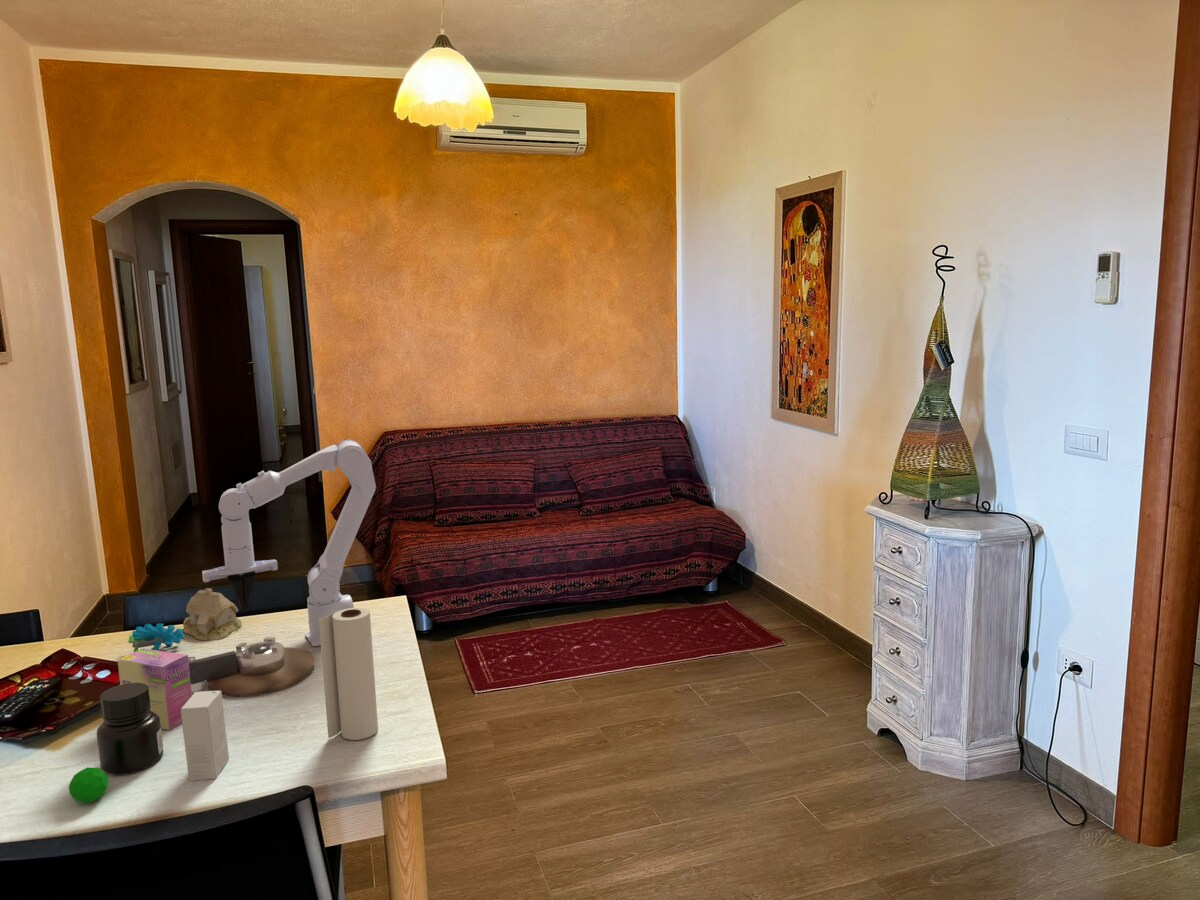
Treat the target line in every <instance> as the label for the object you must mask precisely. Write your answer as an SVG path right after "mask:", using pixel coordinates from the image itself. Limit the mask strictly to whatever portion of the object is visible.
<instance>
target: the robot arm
mask: <svg viewBox="0 0 1200 900" xmlns="http://www.w3.org/2000/svg"><path fill="white" fill-rule="evenodd" d="M372 465H373V464H372V460H371V459H370V458H369V456H368V454H367V452H366V451H365V450H364V449H363V447H362V445H361V444H360V443H359V442H357V441H355V440H353V439H346V440H341V441H340V442H338V444H337V445H336V444H332V445H329V446H327V447H325V448H323V449H321V450H318V451H316V452H314V453H313V454H311V455H310V456H308V457H307V456H306V458H304V459H302V460H300V461H298V462H297V463H295V464H293V465H291V466H289V467H287V468H285V469H283V470H281V471H279V472H276V471H273V470H267V472H265V471H264V470H262V471H261V470H260V472H258V473H257V476H256V477H254V478H252V479H250V480H248V481H246V482H244V483H242V482H239V483H237V484H236V485H235V487H236V488H235V487H233V488H229V489H226V491H223V493H222V494H221V495H220V499H219V501H218V511H219V513H220V514H221V518H220V522H221V527H220V528H221V537H222V546H223V557H224V565H223V566H219V567H214V568H212V569H211V568H210V569H207V570H206V569H205V570H202V571H201V572H202V573H201V575H202V581H203V583H209V582H210V581H214V580H220V579H227V580H228V582H229V584H230V585H231V587H232V590H233V591H234V593H235V595H236V598H237V601H238V604H239V605H238V606H239V608H240V610H241V611H243V610H248V609H249V603H250V597H251V593H252V590H253V587H254V585H255V583H256V580H257V575H256V574H257V573H262V572H267V571H277V570H279V568H278V561H277V560H276V559H268V560H267V559H266V560H265V559H264V560H255V553H254V544H253V543H254V542H253V532H252V530H253V529H252V523H251V522H250V515H249V511H250V510H251V509H256V508H258V507H261V506H264V505H265V504H266V503H267V504H268V503H269V502H270V501H273V500H275V499H277V498H279V497H281V496H283V495H284V493H285V491H286V490H285V489H286V488H287V487H288V486H290V485H292V484H293V483H296V482H299V481H301V480H302V479H305V478H307V477H310V476H312V475H313V474H316V473H318V472H320V471H326V472H327V471H328V472H337V469H336V467H338V469H339V470H340V471H341V472H342V473H343V474H344V475H345V476H346V477H347V479H348V481H349V484H350V486H351V489H350V491H349V493H348V496H347V498H346V501H345V503H344V505H343V508H342V510H341V512H340V514H339V516H338V518H337V521H336V524H335V526H334V529H333V531H332V533H331V535H330V538H329V540H328V542H327V544H326V547H325V549H324V552H323V553H322V554H321V555H320V557H319V559H318V561H317V563H316V564H315V565H314V566H313V567H312V568H311V569H310V570H309V571H308V574H307V576H306V581H307V585H308V594H309V596H308V597H307V598H306V600H307V601H306V602H307V603H306V604H307V613H308V614H307V615H308V628H309V632H306V633H305V635H304V636H305V637H307V638H308V639H307V638H306V639H307V640H308V641H309V643H310V642H311V643H310V644H311V645H312V647H319V646H321V640H320V628H319V619H321V618H324V617H326V616H328V615H330V614H332V613H334V612H337V611H340V610H344V609H349V608H355V607H354V603H353V602H354V601H353V599H352V596H351V595H350V594H342V593H341V592H340V589H341V588H340V580H341V577H342V575H343V571H344V565H345V563H346V562H345V561H346V560H347V557H348V555H349V552H350V550H351V548H352V545H353V543H354V542H355V541H354V540H355V539H356V536H357V533H358V532H359V529H360V527H361V524H362V522H363V520H364V518H365V516H366V513H367V511H368V508H369V506H370V504H371V502H372V499H373V496H374V494H375V492H376V488H377V484H376V481H375V480H376V479H375V475H374V471H373V466H372ZM318 645H319V646H318Z"/></svg>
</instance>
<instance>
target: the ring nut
mask: <svg viewBox="0 0 1200 900" xmlns="http://www.w3.org/2000/svg"><path fill="white" fill-rule="evenodd" d="M284 647H285V646H284V644H283V643H281V642H278V641H276V637H275V636H274V637H273V636H266V637H265V638H264V639H263V641H259V642H254V643H251V644H247V642H240V643H239V644H237V645H236V646H235V650H236V651H235V650H233V651H228V652H224V653H220V654H215V655H211V656H206V657H203V658H202V657H201V658H198V659H197V658H196V657H195V656H188V660H189V671H190V683H191V685H194V684H198V683H203V682H206V681H207V680H211V679H215V678H219V677H223V676H227V675H231V674H235V673H239V674H242V675H250V676H252V675H262V674H266V673H270V672H273V671H275V670H278V669H279V668H281V667H282V666H283V665H284V664H285V658H284Z"/></svg>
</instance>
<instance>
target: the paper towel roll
mask: <svg viewBox="0 0 1200 900" xmlns="http://www.w3.org/2000/svg"><path fill="white" fill-rule="evenodd" d="M371 624H372V621H371V612H370V610H369V609H367V608H364V607H354V608H349V609H344V610H340V611H337V612H334V613H332V614H330V615H328V616H326V617H324V618H321V619H319V628H320V640H321V645H320V649H321V650H320V651H321V664H322V676H323V687H324V699H325V700H324V701H325V702H324V703H325V711H326V712H325V713H326V725H327V735H328V736H327V737H328V739H330V738H334V737H335V736H336V735H338V734H339V733H341V736H342V738H344V739H346V740H349V741H359V740H364V739H367V738H369V737H373V736H374V735H376V733H377V732H378V730H379V726H378V723H379V722H378V711H377V694H376V680H375V667H374V666H375V665H374V654H373V653H374V652H373V651H374V650H373V637H372V635H373V634H372V625H371Z"/></svg>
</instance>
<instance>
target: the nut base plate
mask: <svg viewBox="0 0 1200 900" xmlns="http://www.w3.org/2000/svg"><path fill="white" fill-rule="evenodd" d="M283 647H284V658H285V664H284V665H283V666H282V667H281V668H279V669H278V670H275V671H273V672H270V673H266V674H262V675H252V676H250V675H242V674H239V673H235V674H231V675H227V676H223V677H219V678H215V679H211V680H207V681H205V682H206V687H207V689H208V691H221V692H222V696H225V697H251V696H260V695H265V694H270V693H275V692H278V691H281V690H283V689H287V688H289V687H293V686H294V684H295V685H296V684H299V683H301V682H302V681H304V680H305V679H307V678H308V677H309V676H311V674H312V673H313V672H312V671H314V669H315V659H314V655H312V653H310V652H308V651H307V650H306V649H301V648H296V647H286V646H283ZM300 681H301V682H300Z"/></svg>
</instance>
